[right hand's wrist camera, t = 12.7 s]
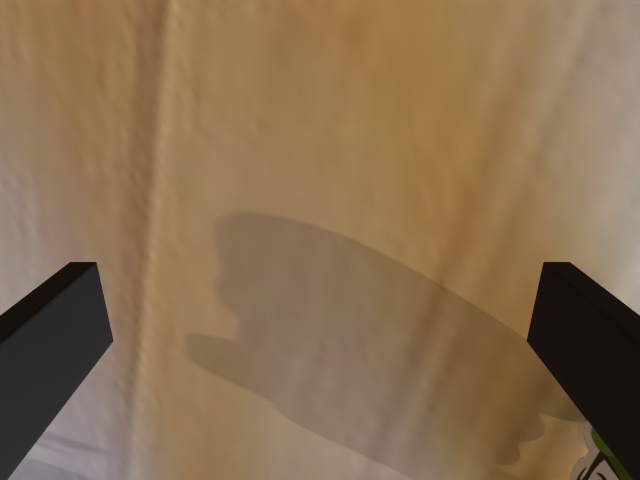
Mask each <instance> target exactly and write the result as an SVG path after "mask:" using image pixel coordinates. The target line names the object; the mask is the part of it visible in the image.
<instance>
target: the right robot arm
mask: <svg viewBox="0 0 640 480" xmlns="http://www.w3.org/2000/svg"><path fill="white" fill-rule="evenodd" d="M112 342H113V337H112V332H111V328H110V323H109V318H108V314H107V309H106V304H105V300H104V295H103V291H102V286H101V281H100V277H99V272H98V267H97V263H96V262H70V263H68V264H67V265H66V266H64V267H63V268H62V269H61V270H59V271H58V272H57V273H55V274H54V275H53V276H51V277H50V278H49V279H47V280H46V281H45V282H44V283H42V284H41V285H40V286H38V287H37V288H36V289H34V290H33V291H32V292H31V293H29V294H28V295H27V296H25V297H24V298H23V299H21V300H20V301H19V302H17V303H16V304H15V305H14V306H12V307H11V308H10V309H8V310H7V311H6V312H4V313H3V314H2V315H0V480H7V479H8V478H9V477H10V475H11V474H12V473H13V472H14V470H15V469H16V468H17V466H18V465H19V464H20V462H21V461H22V460H23V458H24V457H25V456H26V455H27V453H28V452H29V451H30V449H31V448H32V447H33V445H34V444H35V443H36V441H37V440H38V439H39V438H40V436H41V435H42V434H43V432H44V431H45V430H46V428H47V427H48V426H49V424H50V423H51V422H52V421H53V419H54V418H55V417H56V415H57V414H58V413H59V411H60V410H61V409H62V407H63V406H64V405H65V404H66V402H67V401H68V400H69V398H70V397H71V396H72V394H73V393H74V392H75V391H76V389H77V388H78V387H79V385H80V384H81V383H82V381H83V380H84V379H85V377H86V376H87V375H88V374H89V372H90V371H91V370H92V368H93V367H94V366H95V364H96V363H97V362H98V360H99V359H100V358H101V357H102V355H103V354H104V353H105V351H106V350H107V349H108V347H109V346H110V345H111V343H112ZM527 342H528V343H529V345H530V346H531V347H532V349H533V350H534V351H535V353H536V354H537V355H538V357H539V358H540V359H541V360H542V362H543V363H544V364H545V366H546V367H547V368H548V370H549V371H550V372H551V374H552V375H553V376H554V377H555V379H556V380H557V381H558V383H559V384H560V385H561V387H562V388H563V389H564V391H565V392H566V393H567V394H568V396H569V397H570V398H571V400H572V401H573V402H574V404H575V405H576V406H577V407H578V409H579V410H580V411H581V413H582V414H583V415H584V417H585V418H586V419H587V421H588V422H589V423H590V424H591V426H592V427H593V428H594V430H595V431H596V432H597V434H598V435H599V436H600V438H601V439H602V440H603V441H604V443H605V444H606V445H607V447H608V448H609V449H610V451H611V452H612V453H613V455H614V456H615V457H616V458H617V460H618V461H619V462H620V464H621V465H622V466H623V468H624V469H625V470H626V472H627V473H628V474H629V475H630V477H631V478H632V479H633V480H640V315H638V314H637V313H636V312H634V311H633V310H632V309H630V308H629V307H628V306H626V305H625V304H624V303H623V302H621V301H620V300H619V299H617V298H616V297H615V296H613V295H612V294H611V293H609V292H608V291H607V290H606V289H604V288H603V287H602V286H600V285H599V284H598V283H596V282H595V281H594V280H592V279H591V278H590V277H589V276H587V275H586V274H585V273H583V272H582V271H581V270H579V269H578V268H577V267H576V266H574V265H573V264H572V263H570V262H544V263H543V267H542V272H541V277H540V281H539V286H538V291H537V295H536V300H535V304H534V309H533V314H532V318H531V323H530V328H529V332H528V337H527Z"/></svg>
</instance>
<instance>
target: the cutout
mask: <svg viewBox="0 0 640 480" xmlns="http://www.w3.org/2000/svg"><path fill="white" fill-rule="evenodd" d="M584 440H585V444H586V446H587V448H588V450H589V451H588V453H587V455H586V456H584V457H582V458H580V459H579V460H578V461H577V463H576V464H575V465H574V468H573V469H572V471H571V474H570V478H569V480H633V479H632V478H631V477H630V475H629V474H628V473H627V472H626V470H625V469H624V468H623V466H622V465H621V464H620V462H619V461H618V460H617V458H616V457H615V456H614V455H613V453H612V452H611V451H610V449H609V448H608V447H607V445H606V444H605V443H604V441H603V440H602V439H601V438H600V436H599V435H598V434H597V432H596V431H595V430H594V428H593V427H592V426H591V424H590V423H589V422H588V421H586V423H585V426H584Z"/></svg>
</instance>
